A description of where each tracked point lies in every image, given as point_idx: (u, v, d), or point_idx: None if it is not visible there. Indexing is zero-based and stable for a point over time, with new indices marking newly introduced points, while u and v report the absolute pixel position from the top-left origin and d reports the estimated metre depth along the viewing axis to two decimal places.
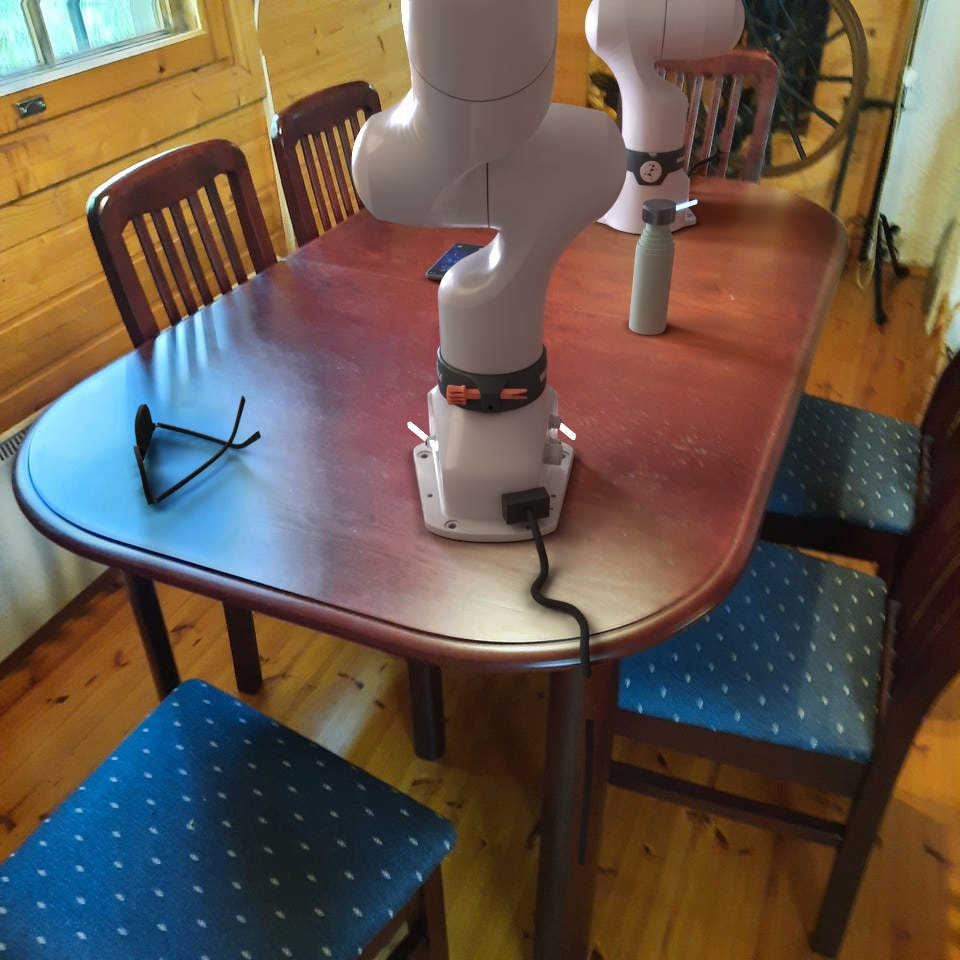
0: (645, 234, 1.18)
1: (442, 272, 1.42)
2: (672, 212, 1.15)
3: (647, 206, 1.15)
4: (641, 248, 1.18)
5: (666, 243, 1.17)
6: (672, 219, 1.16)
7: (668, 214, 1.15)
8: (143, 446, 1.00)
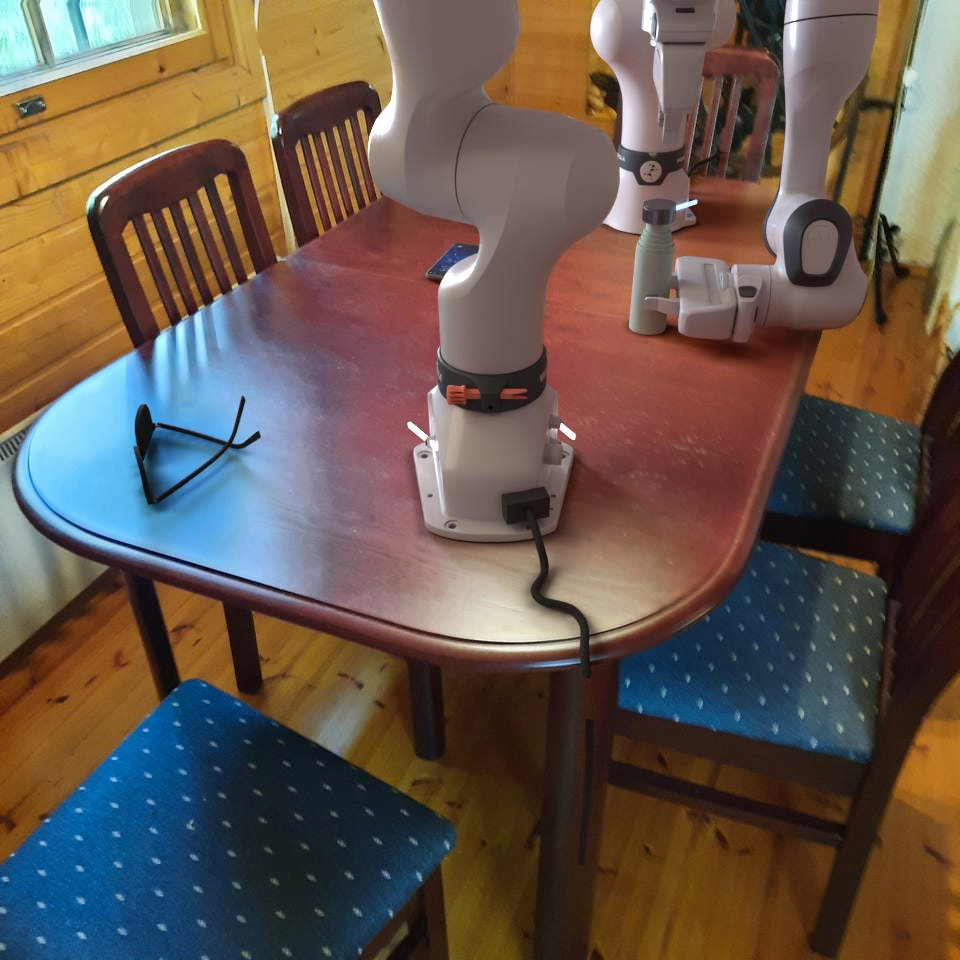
0: (645, 234, 1.18)
1: (442, 272, 1.42)
2: (672, 212, 1.15)
3: (647, 206, 1.15)
4: (641, 248, 1.18)
5: (666, 243, 1.17)
6: (672, 219, 1.16)
7: (668, 214, 1.15)
8: (143, 446, 1.00)
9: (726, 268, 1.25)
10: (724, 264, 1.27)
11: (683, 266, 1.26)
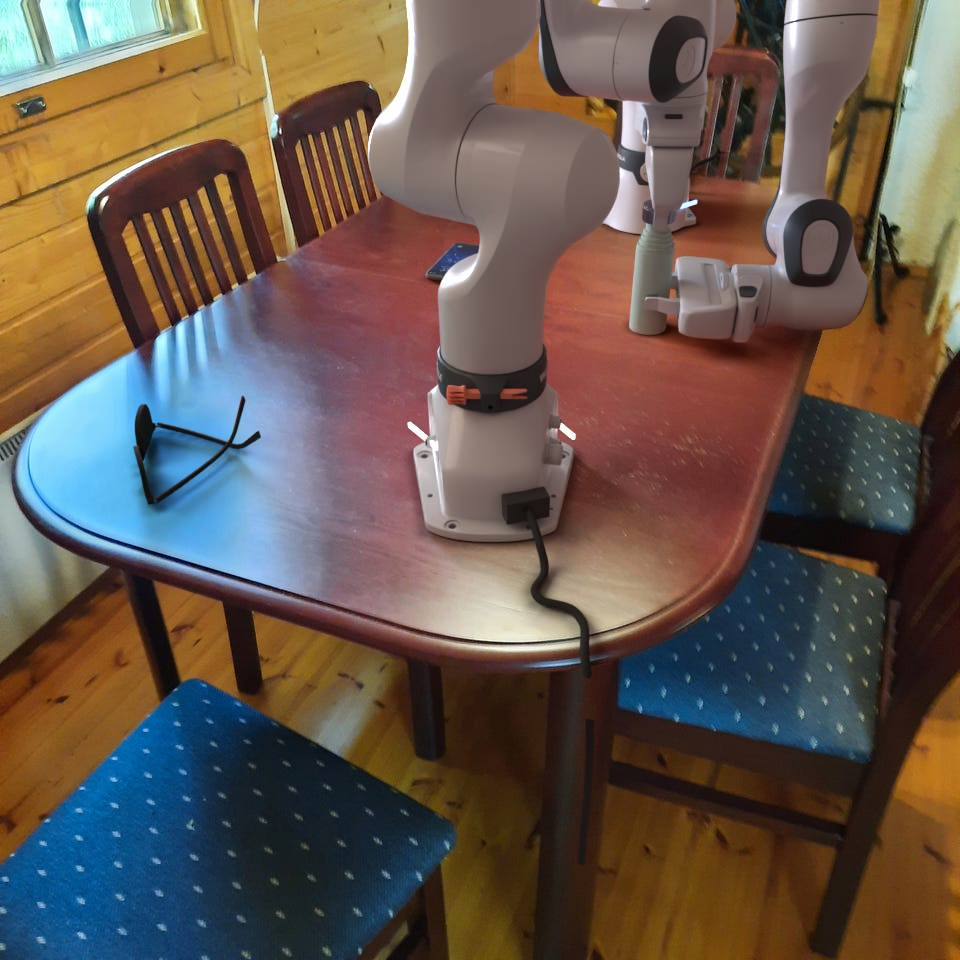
0: (645, 234, 1.18)
1: (442, 272, 1.42)
2: (672, 212, 1.15)
3: (647, 206, 1.15)
4: (641, 248, 1.18)
5: (666, 243, 1.17)
6: (672, 219, 1.16)
7: None
8: (143, 446, 1.00)
9: (726, 268, 1.25)
10: (724, 264, 1.27)
11: (683, 266, 1.26)
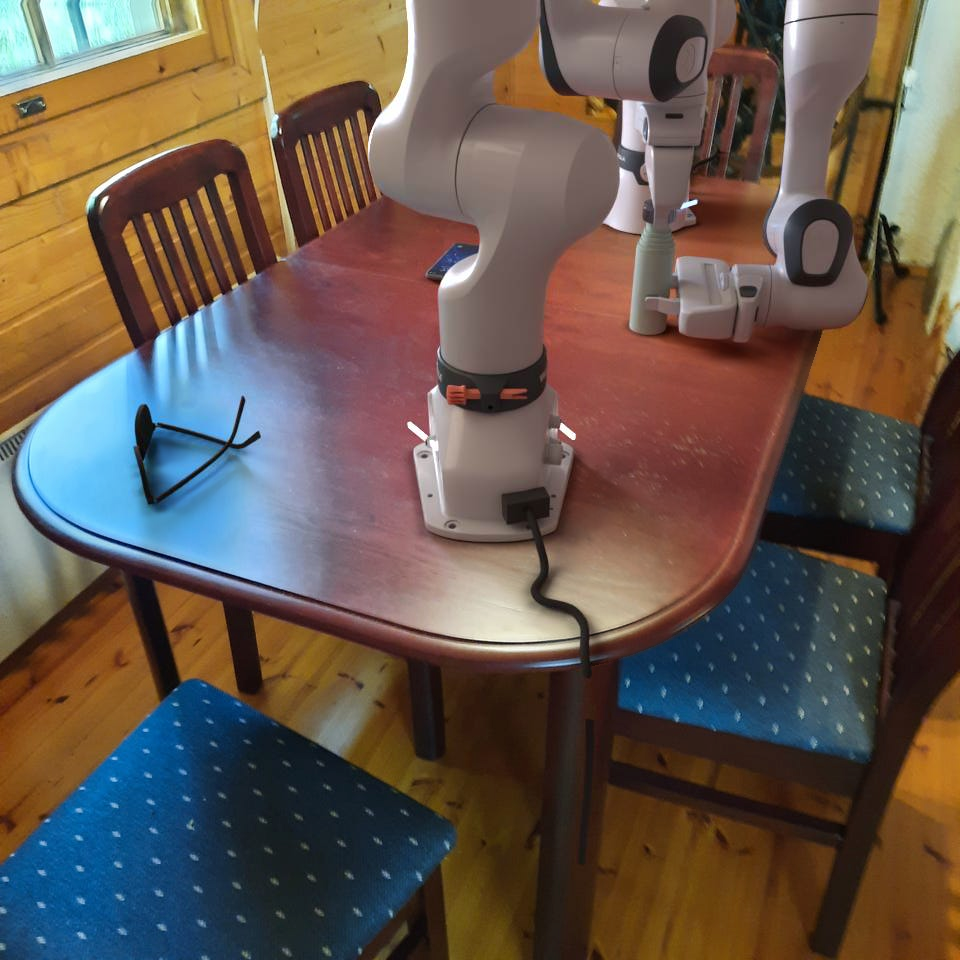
0: (645, 234, 1.18)
1: (442, 272, 1.42)
2: None
3: None
4: (641, 248, 1.18)
5: (666, 243, 1.17)
6: None
7: None
8: (143, 446, 1.00)
9: (726, 268, 1.25)
10: (724, 264, 1.27)
11: (683, 266, 1.26)
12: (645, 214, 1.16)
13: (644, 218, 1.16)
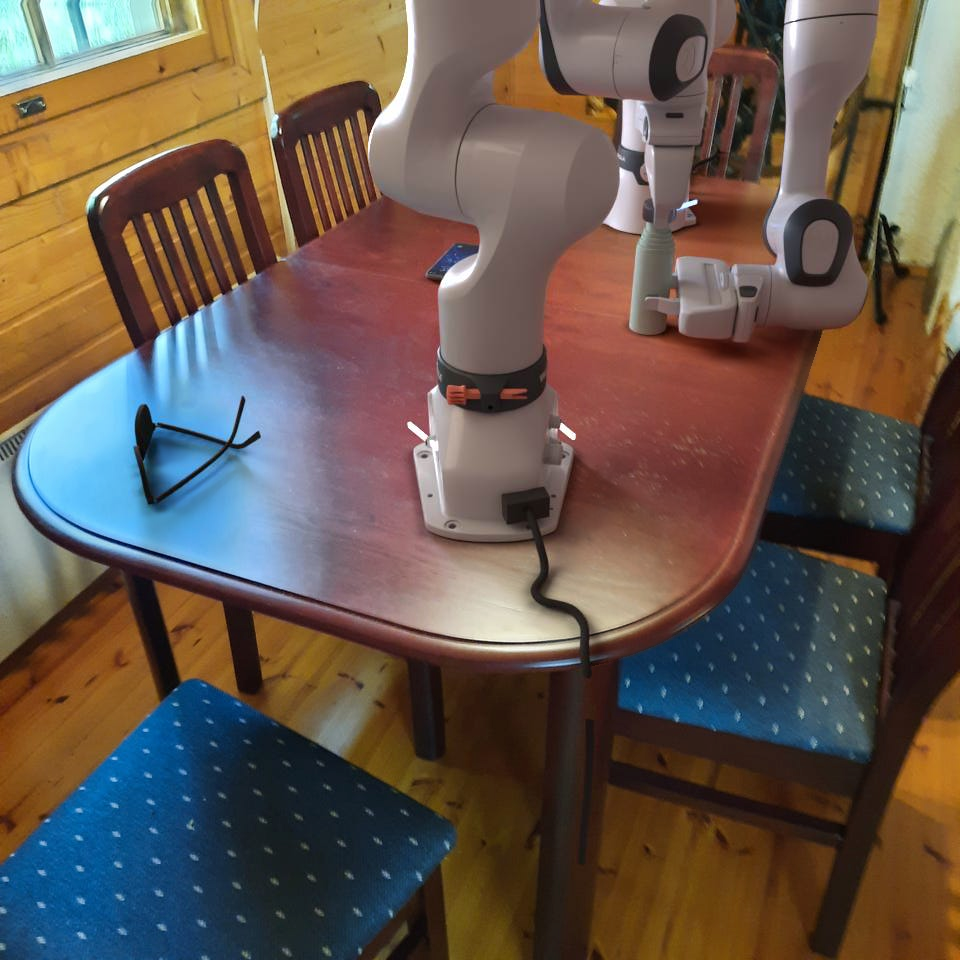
0: (645, 234, 1.18)
1: (442, 272, 1.42)
2: None
3: None
4: (641, 248, 1.18)
5: (666, 243, 1.17)
6: None
7: None
8: (143, 446, 1.00)
9: (726, 268, 1.25)
10: (724, 264, 1.27)
11: (683, 266, 1.26)
12: None
13: None
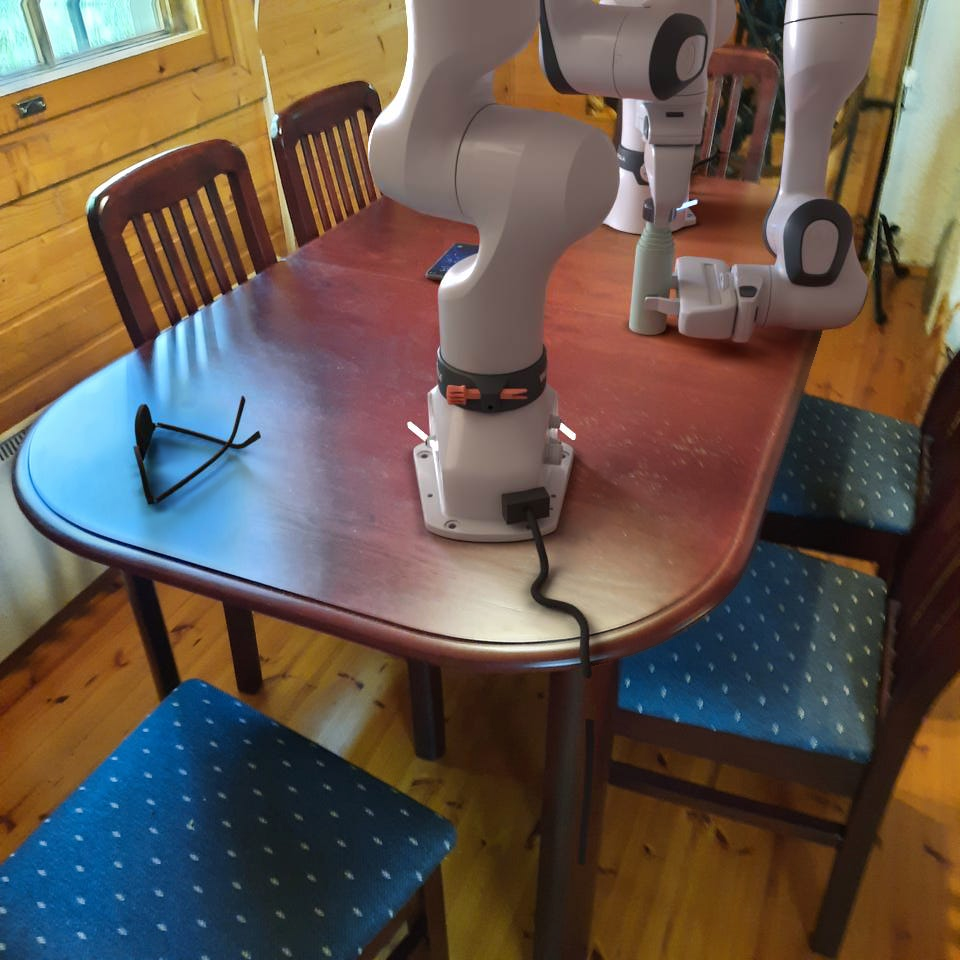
0: (645, 234, 1.18)
1: (442, 272, 1.42)
2: (645, 208, 1.16)
3: None
4: (641, 248, 1.18)
5: (666, 243, 1.17)
6: (644, 216, 1.16)
7: (643, 207, 1.16)
8: (143, 446, 1.00)
9: (726, 268, 1.25)
10: (724, 264, 1.27)
11: (683, 266, 1.26)
12: None
13: None
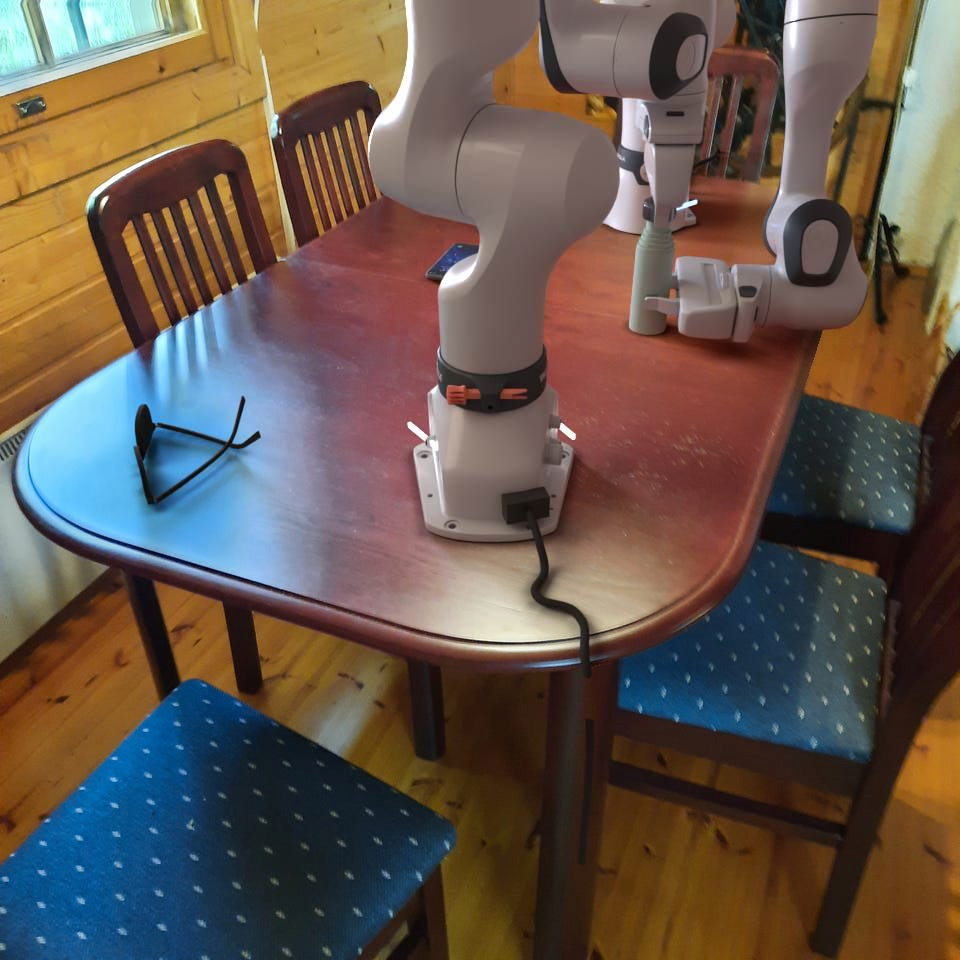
0: (645, 234, 1.18)
1: (442, 272, 1.42)
2: None
3: (645, 200, 1.16)
4: (641, 248, 1.18)
5: (666, 243, 1.17)
6: None
7: None
8: (143, 446, 1.00)
9: (726, 268, 1.25)
10: (724, 264, 1.27)
11: (683, 266, 1.26)
12: None
13: None
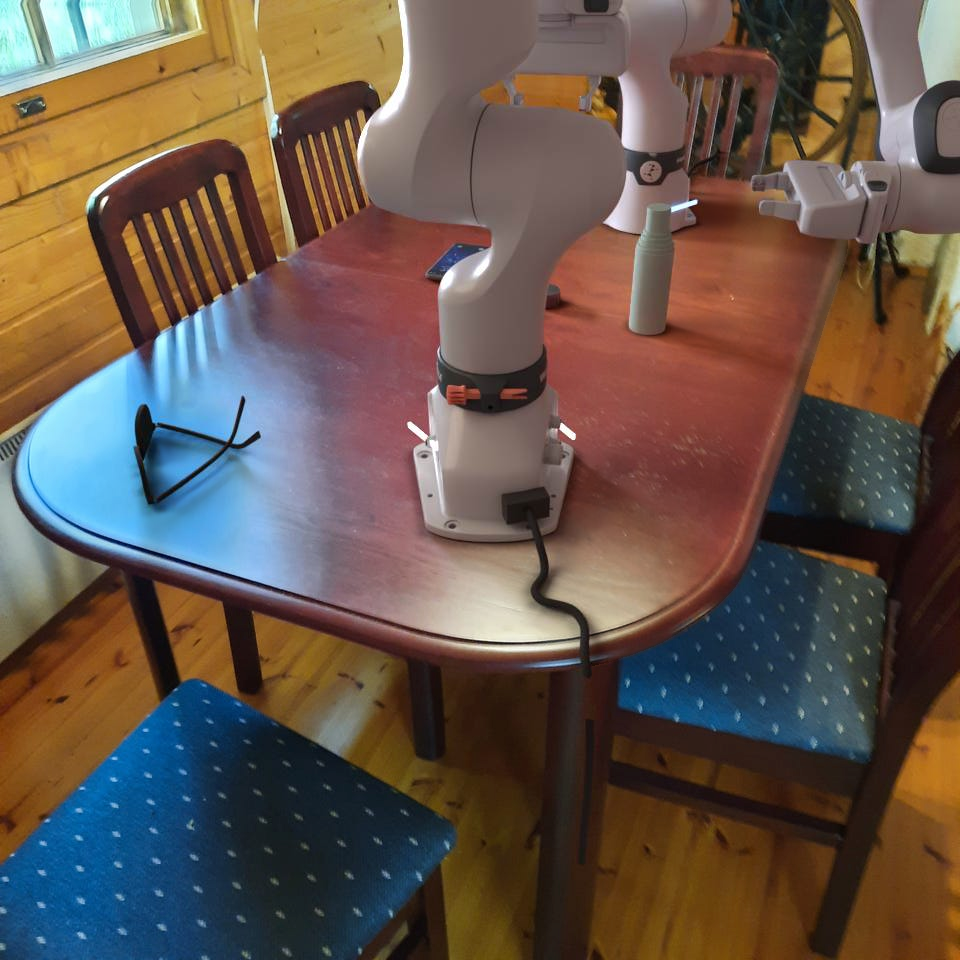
0: (645, 234, 1.18)
1: (442, 272, 1.42)
2: None
3: (557, 292, 1.32)
4: (641, 248, 1.18)
5: (666, 243, 1.17)
6: None
7: None
8: (143, 446, 1.00)
9: (843, 170, 1.15)
10: (839, 166, 1.16)
11: (795, 168, 1.16)
12: None
13: None
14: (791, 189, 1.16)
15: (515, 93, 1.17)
